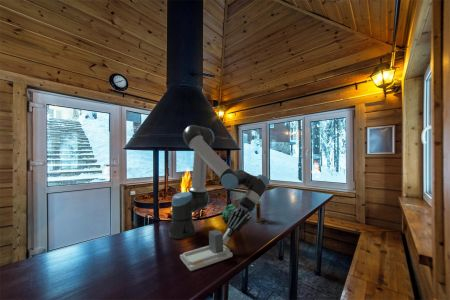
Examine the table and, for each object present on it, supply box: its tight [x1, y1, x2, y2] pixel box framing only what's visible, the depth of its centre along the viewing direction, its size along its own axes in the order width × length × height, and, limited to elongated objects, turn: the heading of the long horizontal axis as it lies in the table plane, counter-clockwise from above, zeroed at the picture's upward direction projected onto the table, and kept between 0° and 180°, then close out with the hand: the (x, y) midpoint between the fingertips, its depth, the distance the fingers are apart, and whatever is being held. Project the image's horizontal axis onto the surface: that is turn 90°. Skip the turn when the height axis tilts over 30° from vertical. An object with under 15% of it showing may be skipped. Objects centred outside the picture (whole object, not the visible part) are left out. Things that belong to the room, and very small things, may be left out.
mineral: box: [221, 203, 238, 222], centre depth 140 cm, size 18×16×10 cm
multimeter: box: [255, 200, 270, 225], centre depth 136 cm, size 15×10×20 cm
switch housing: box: [179, 244, 233, 272], centre depth 87 cm, size 20×12×2 cm, turn 122°
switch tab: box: [208, 229, 224, 254], centre depth 90 cm, size 4×6×8 cm, turn 33°
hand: (223, 242), depth 92 cm, fingers closed
